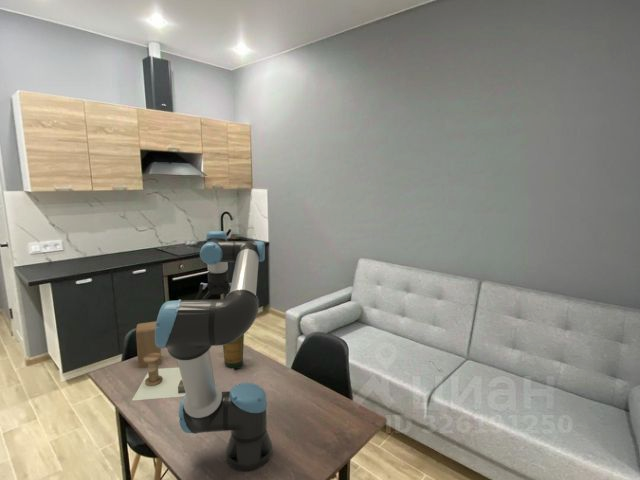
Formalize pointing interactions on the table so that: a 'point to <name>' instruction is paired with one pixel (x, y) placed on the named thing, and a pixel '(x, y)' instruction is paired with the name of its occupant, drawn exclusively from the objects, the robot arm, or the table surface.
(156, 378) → the bobbin
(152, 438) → the table surface
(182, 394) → the board
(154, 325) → the wooden block
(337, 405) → the table surface
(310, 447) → the table surface
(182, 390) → the notch board
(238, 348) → the bottle
